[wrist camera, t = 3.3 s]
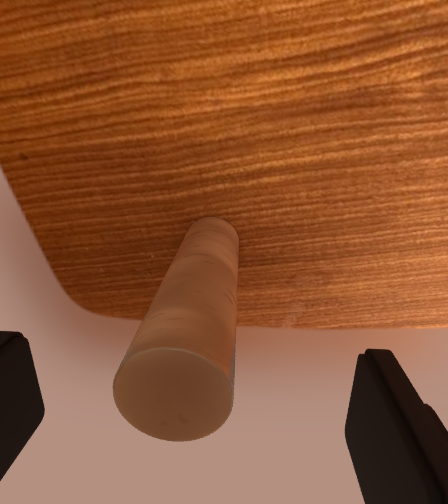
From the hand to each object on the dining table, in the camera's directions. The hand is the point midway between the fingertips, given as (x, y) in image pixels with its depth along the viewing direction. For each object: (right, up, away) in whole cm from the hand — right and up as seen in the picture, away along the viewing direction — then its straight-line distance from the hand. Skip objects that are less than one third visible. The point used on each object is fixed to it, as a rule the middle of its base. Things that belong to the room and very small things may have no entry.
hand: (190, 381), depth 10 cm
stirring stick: (0, +4, +10) cm, 11 cm away
